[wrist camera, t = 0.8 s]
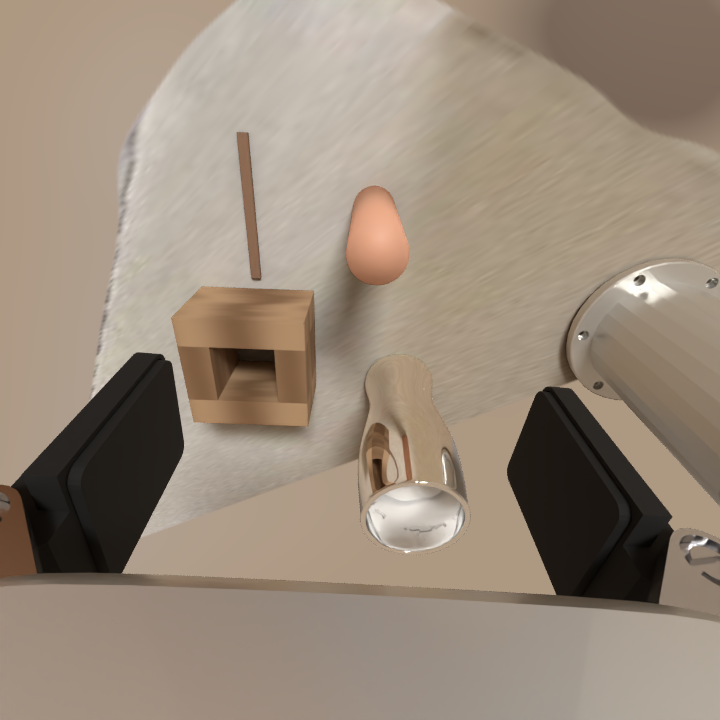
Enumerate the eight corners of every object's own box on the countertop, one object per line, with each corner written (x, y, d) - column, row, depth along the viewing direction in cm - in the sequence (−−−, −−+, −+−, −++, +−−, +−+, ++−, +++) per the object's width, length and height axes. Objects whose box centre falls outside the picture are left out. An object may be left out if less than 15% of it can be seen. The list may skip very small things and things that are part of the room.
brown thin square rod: (248, 132, 27) (247, 132, 27) (261, 277, 33) (260, 278, 32) (237, 132, 27) (236, 132, 27) (252, 276, 32) (251, 277, 32)
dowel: (396, 186, 29) (412, 223, 19) (393, 230, 31) (406, 286, 20) (353, 185, 29) (346, 220, 19) (352, 228, 31) (345, 284, 20)
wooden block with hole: (314, 290, 33) (304, 322, 28) (316, 384, 38) (308, 426, 32) (202, 286, 33) (171, 317, 28) (217, 380, 38) (193, 422, 32)
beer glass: (407, 424, 40) (426, 570, 27) (345, 391, 38) (335, 532, 25) (452, 372, 37) (499, 509, 24) (388, 335, 35) (401, 461, 22)
